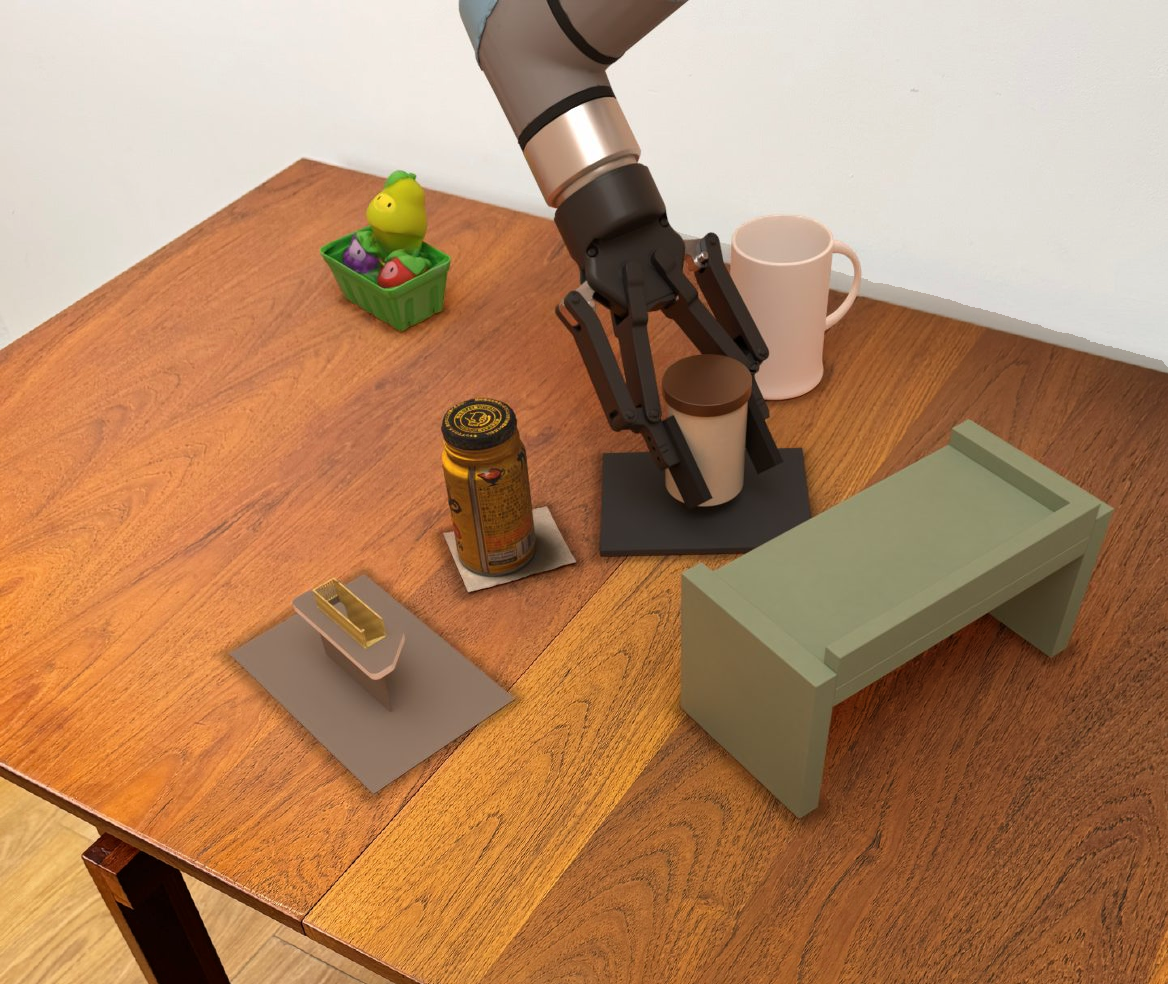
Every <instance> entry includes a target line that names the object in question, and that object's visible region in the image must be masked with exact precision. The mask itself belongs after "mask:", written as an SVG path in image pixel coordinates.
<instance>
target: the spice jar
mask: <svg viewBox="0 0 1168 984" xmlns="http://www.w3.org/2000/svg"><path fill="white" fill-rule="evenodd" d="M751 389H752V376H751V373H750V371H749V370H748V368H747V367H746V366H745V365H743V364H742V363H741V362H739V361H737V360H735V359H733V358H730V357H727V356H723V355H716V354H701V353H700V354H693V355H689V356H686V357H683V358H680V359H678V360H677V361H675V362H673V363H671V364H670V365H669V366H668V367H667V368H666V369H665V371H664V372H663V375H662V377H661V395H662V398H663V400H664V419H666V418H668V417H670V416H672V415H674V416H675V418H676V420H677V423H678V425H679V427H680V429H681V431H682V433H683V435H684V438H685V440H686V442H687V444H688V446H689V448H690V450H691V453H692V455H693V457H694V459H695V461H696V463H697V465H698V467H699V470H700V472H701V474H702V476H703V478H704V480H705V482H706V485H707V487H708V489H709V491H710V493H711V495H712V497H713V498H712V499H710V500H708V501H706V502H704V503H702V504H700V505H698V506H714V505H719V504H722V503H725V502H727V501H729V500H731V499H733V498H734V497H735V496H737V495H738V494H739V492H740V491H741V489H742V487H743V484H744V466H745V449H746V429H747V411H748V400H749V398H750V396H751ZM665 485H666V488H667V490H668V492H669V493H670V494H671V495H672V496H673V497H674V498H676V499H677V500H679V501H681V502H683V503H684V501H683V499H682V496H681V494H680V492H679V490H678V488H677V486H676V484H675V482H674V479H673V477H672V475H671V473H670V471H669V469H668V468H667V469H665Z"/></svg>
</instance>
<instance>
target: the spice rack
mask: <svg viewBox="0 0 1168 984" xmlns="http://www.w3.org/2000/svg"><path fill="white" fill-rule="evenodd" d="M1114 510H1115V508H1114V507H1112V506H1111V505H1109V504H1108V503H1106V502H1104V501H1102V500H1101V499H1099V498H1097V497H1096V496H1095V495H1093V494H1091V493H1090V492H1088V491H1086V490H1085V489H1083V488H1081V487H1080V486H1078V485H1077V484H1075V483H1074V482H1072V481H1070V480H1069V479H1067V478H1066V477H1064V476H1062V475H1061V474H1059V473H1058V472H1056V471H1054V470H1052V469H1051V468H1049V467H1048V466H1046V465H1044V464H1042V463H1041V462H1040V461H1038V460H1036V459H1035V458H1033V457H1032V456H1030V455H1028V454H1026V453H1025V452H1023V451H1022V450H1020V449H1018V448H1017V447H1016V446H1014V445H1012V444H1010V443H1009V442H1007V441H1006V440H1004V439H1002V438H1001V437H999V436H997V435H995V433H992V432H991V431H990V430H987V429H986V428H985V427H983V426H981V425H979V424H978V423H977V422H975V421H973V420H971V419H969V418H968V419H966V420H964V421H962V422H961V423H959V424H957V425H955V426H953V427H952V428H951V431H950V435H949V441H948V444H947V445H944V446H943V447H941V448H939V449H937V450H935V451H933V452H932V453H930V454H928V455H926V456H924V457H922V458H921V459H919V460H917V461H915V462H913V463H911V464H910V465H908V466H906V467H904V468H902V469H900V470H898V471H896V472H895V473H893V474H891V475H889V476H887V477H886V478H885V477H884V479H881V480H880V481H878V482H876V483H874V484H872V485H870V486H869V487H866V488H865V489H863V490H861V491H859V492H857V493H855V494H854V495H852V496H850V497H847V499H843V501H840V502H839V503H837V504H835V505H833V506H831V507H829V508H827V509H826V510H823V511H822V512H821V513H819V514H817V515H815V516H812V517H811V519H809V520H807V521H805V522H804V523H802V524H800V525H798V526H796V527H794V528H792V529H791V530H789V531H787V532H785V533H783V534H781V535H780V536H778V537H776V538H774V539H772V540H770V541H768V542H767V543H765V544H763V545H761V546H759V547H757V548H755V549H754V550H752V551H750V552H748V553H743V554H742V555H741V556H739V557H737V558H734V559H733V560H731V561H730V562H728V563H726V564H724V565H722V566H720V567H718V568H716V569H714V570H712V569H711V568H709V567H708V566H707V565H706V564H705V563H703V562H702V561H701V562H699V563H696V564H695V565H693V566H691V567H690V568H688V569H685V570H684V571H682V572H681V573H680V697H679V699H680V700H679V701H680V703H679V704H680V705H679V706H680V709H681V710H683V712H684V713H686V714H687V715H688V716H689V717H690V718H691V719H692V720H693V721H694V722H695V723H696V724H697V725H699V726H700V727H701V728H702V729H703V730H704V731H705V732H706V733H707V734H708V735H709V736H710V737H711V738H712V739H714V740H715V742H717V744H718V745H720V746H721V747H722V748H723V750H725V751H726V752H727V753H728V754H729V755H730V756H732V758H733V759H734V760H735V761H737V762H738V763H739V765H741V766H742V767H743V768H744V769H745V770H746V771H747V772H748V773H749V774H751V775H752V776H753V777H754V779H755V780H757V781H758V782H759V783H760V784H761V785H762V787H763V788H765V789H766V790H767V791H769V792H770V793H771V794H772V795H773V796H774V797H775V798H776V799H777V800H778V801H779V802H780V803H781V804H782V805H783V806H784V807H785V808H786V809H787V810H789V812H791V813H792V814H793V815H794V817H796V818H797V819H799V820H800V819H802V818H803V817H805V816H806V815H808V814H810V813H811V812H812V811H814V810H816V809H817V808H819V803H820V796H821V789H822V782H823V781H822V780H823V774H824V770H825V769H824V767H825V760H826V754H827V747H828V741H829V734H830V727H831V721H832V720H831V719H832V713H833V707H835V706H837V705H840V703H842V702H843V701H845V700H847V699H848V698H850V697H851V696H854V695H855V694H857V693H858V692H860V691H861V690H863V689H865V688H866V687H868V686H870V685H872V684H873V683H875V682H876V681H879V680H880V679H881V678H883V677H885V676H886V675H888V674H889V673H891V672H893V671H895V670H896V669H898V668H899V667H902V666H903V665H904V664H906V663H908V662H909V661H911V660H913V659H914V658H916V657H917V656H919V655H921V654H922V653H924V652H927V650H928V649H930V648H932V647H934V646H936V645H937V644H939V643H940V642H942V641H944V640H945V639H947V638H949V637H950V636H952V635H953V634H955V633H957V632H958V631H960V630H962V629H963V628H965V627H967V626H968V625H971V624H972V623H973V622H975V621H976V620H978V619H979V618H981V617H983V616H985V615H986V614H989V615H990V616H992V617H993V618H994V619H996V620H997V621H999V622H1000V623H1002V624H1003V625H1004V626H1005V627H1007V628H1009V629H1010V630H1011V631H1013V632H1014V633H1015V634H1017V635H1018V636H1019V637H1021V638H1022V639H1023V640H1025V641H1027V643H1029V644H1031V645H1032V646H1033V647H1034V648H1036V649H1037V650H1039V651H1040V652H1042V653H1043V654H1044V655H1046V656H1047V657H1049V658H1050V659H1052V658H1053V657H1055V656H1056V655H1058V654H1060V653H1061V652H1063V651H1065V650H1066V649H1067V648H1068V645H1069V642H1070V639H1071V637H1072V633H1073V631H1074V628H1075V626H1076V625H1075V624H1076V622H1077V619H1078V616H1079V612H1080V610H1081V607H1082V604H1083V602H1084V598H1085V595H1086V592H1087V590H1088V586H1089V583H1090V580H1091V577H1092V574H1093V572H1094V569H1095V565H1096V564H1097V560H1098V558H1099V554H1100V551H1101V548H1102V546H1103V542H1104V540H1105V537H1106V534H1107V530H1108V528H1109V525H1110V522H1111V520H1112V516H1113V513H1114Z"/></svg>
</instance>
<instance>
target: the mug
mask: <svg viewBox="0 0 1168 984" xmlns="http://www.w3.org/2000/svg"><path fill="white" fill-rule="evenodd" d="M834 254H839V255H843V256H844V257H847V259H849V260H850V262H851V263H852V267H853V281H852V284H851V285H852V286H851V287H850V290H849V293H848V295H847V296H846V298H845V299H844V301H843V302H842V303H841V304H840V306H839V307H837V308H836V310H835V311H833V312H832V313H830V314H829V315H827V313H828V302H829V293H830V283H831V275H832V274H831V273H832V265H833V256H834ZM729 269H730V270H729V274H730V276H731V278H732V280H733V282H734V284H735V285H736V287H737V289H738V291H739V293H740V295H741V297H742V299H743V301H744V303H745V305H746V307H747V309H748V311H749V312H750V314H751V316H752V318H753V320H754V322H755V324H756V326H757V328H758V330H759V332H760V334H761V336H762V338H763V340H764V341H765V343H766V345H767V347H768V349H769V357H768V358H767V359H766V360H765V361H763V362H762V364H761V365H760V368H759V371H758V372H757V373H756V374H755V380H756V382H757V384H758V387H759V389H760V391H761V393H762V395H763V398H764V400H765V401H782V400H783V401H784V400H789V399H790V400H791V399H794V398H798V397H801V396H803V395H805V394H808V393H810V392H811V391H813V390H814V389H815V388H816V387H817V386H818V385H819V384H820V382H821V381H822V379H823V376H824V363H823V351H824V342H825V341H824V340H825V331H827V330H829V329H831V328H832V327H833V326H834V325H836V324H837V323H838V322H839V321H841V320H842V318H843V317H844V316H845V315H846V314H847V313H848V312H849V311H850V309H851V307H852V306H853V305H854V302H855V300H856V299H857V296H858V294H859V291H860V288H861V283H862V265H861V261H860V259H859V257H858V255H857V253H856V251H854V249H853V248H852V247H851V246H850V245H849V244H847V243H845V242H843V241H841V240H838V239H835V238H834V234H833V231H831V229H830V228H829V227H828V226H827V225H825V224H824V223H822V222H820V221H818V220H816V219H813V218H811V217H807V216H804V215H797V214H787V213H785V214H784V213H777V214H769V215H768V214H767V215H763V216H759V217H755V218H752V219H750V220H748V221H746V222H744V223H742V224H741V225H739V226H738V227H737V228H736V229H735V230H734V232H733V233H732V236H731V242H730V268H729Z"/></svg>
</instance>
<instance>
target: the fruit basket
mask: <svg viewBox="0 0 1168 984" xmlns="http://www.w3.org/2000/svg"><path fill="white" fill-rule="evenodd" d="M416 179H417V175H416V174H415V173H413V172H409V173H407V172H406V171H405V170H402V169H398V170H394V171H393V172H391V173H390V174H389V176H388V177H387V179H386V181H385V183H384V185H383V190H381V191H380V192H379V193H378V194H377V195H375V196H374V197H373V199H372V200H371V201H370V203H369V205H368V206H367V208H366V212H365V217H366V220H367V222H368V224H369V225H367V226H365V227H362V228H360V229H357V230H354V231H353V232H350V233H348V234H345V235H343V236H341V237H339V238H337V239H335V240H331V241H330V242H328V243H327V244H325V245H323V246H321V247H320V248H319V250H318V251H319V254H320V256H321V257H322V259H323V261H324V262H325V263H326V264H327V266H328V267H329V270H330V271H331V273H332V275H333V277H334V279H335V281H336V283H337V285H338V286H339V288H340V290H341V293H342V294H343V296H344V299H345V300H347V301H348V302H350V303H352V304H353V305H357V306H358V307H359V308H360V309H362V310H363V311H364V312H367V313H368V314H371V315H374V317H375V318H377V319H379V320H380V321H382V322H383V323H386V324H389V325H390V326H391V327H392V328H393V329H395V330H396V331H398V332H400V333H401V332H404V331H406V330H407V329H408V328H409V327H412V326H415V325H418V324H420V323H421V322H424V321H425V320H428V319H430V318H431V317H432V316H433V315H434V314H438V313H441V312H443V310H444V305H445V296H446V288H447V280H448V272H449V271H450V266H451V261H452V257H451V255H449V254H447V253H445V252H443V251H441V250H439V249H437V248H436V247H434V246H432V245H431V244H428V243H427V242H426V241H424V239H425V237H426V234H427V230H428V215H427V211H426V193H425V190H424V188H423V187H422V186H421V184H420V183H419V182H418V181H417V180H416Z"/></svg>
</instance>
